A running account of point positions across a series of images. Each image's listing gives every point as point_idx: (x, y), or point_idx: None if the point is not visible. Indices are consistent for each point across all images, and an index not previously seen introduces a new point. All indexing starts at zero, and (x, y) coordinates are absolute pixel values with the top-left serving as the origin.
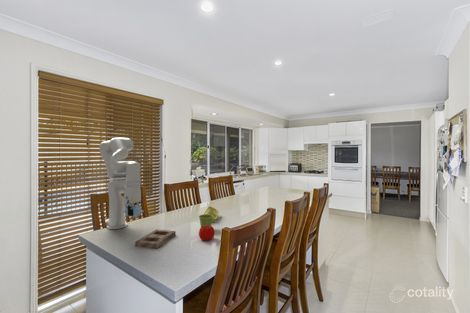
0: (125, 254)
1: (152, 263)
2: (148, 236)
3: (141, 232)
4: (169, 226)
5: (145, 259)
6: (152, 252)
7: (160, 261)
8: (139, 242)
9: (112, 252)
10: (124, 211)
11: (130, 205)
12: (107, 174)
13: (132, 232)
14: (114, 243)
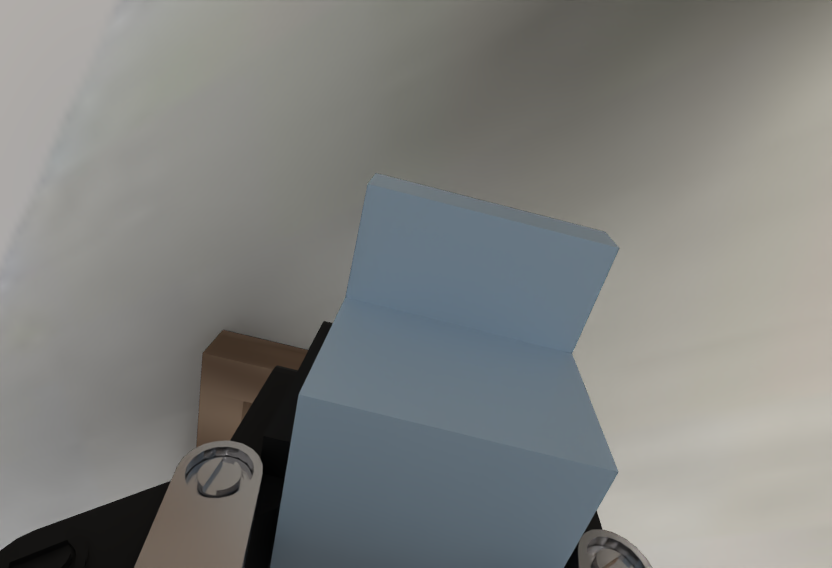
0: (57, 310)
1: (3, 509)
2: None
3: (616, 257)
4: (768, 482)
5: (34, 463)
6: (143, 476)
7: None
8: (201, 389)
9: (56, 180)
10: (357, 252)
11: (496, 513)
12: None
13: (636, 143)
14: (263, 81)
